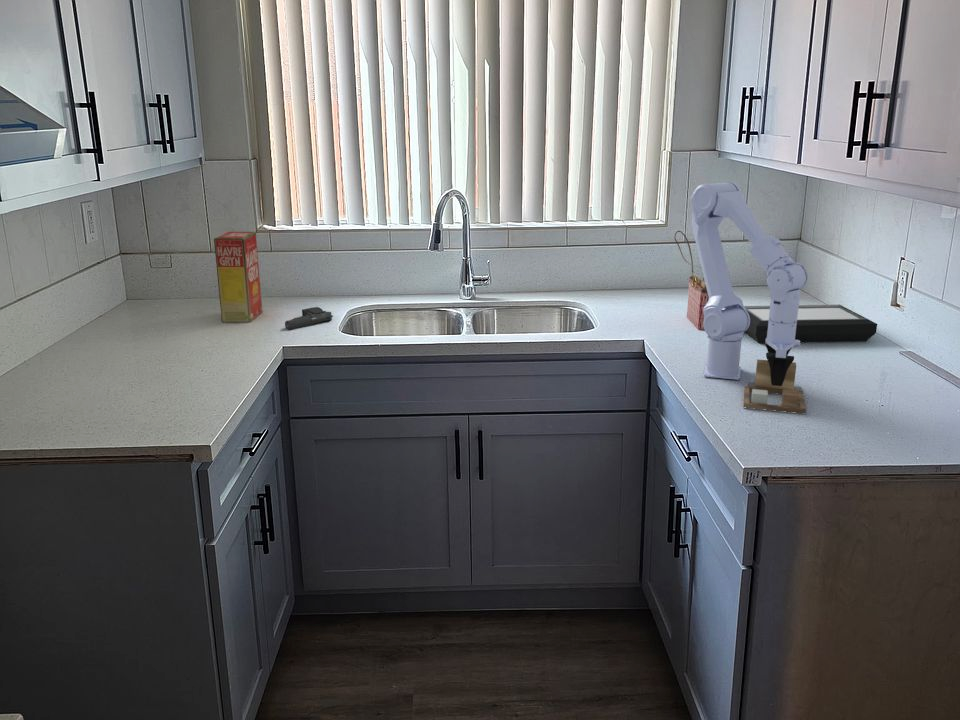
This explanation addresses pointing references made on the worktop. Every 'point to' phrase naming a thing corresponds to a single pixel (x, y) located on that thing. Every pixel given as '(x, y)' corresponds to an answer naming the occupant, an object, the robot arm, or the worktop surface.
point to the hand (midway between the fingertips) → (776, 380)
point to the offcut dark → (790, 398)
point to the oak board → (765, 377)
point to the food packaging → (238, 276)
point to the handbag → (695, 295)
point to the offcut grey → (759, 396)
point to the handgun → (309, 318)
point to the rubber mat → (794, 386)
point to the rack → (773, 407)
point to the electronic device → (816, 324)
